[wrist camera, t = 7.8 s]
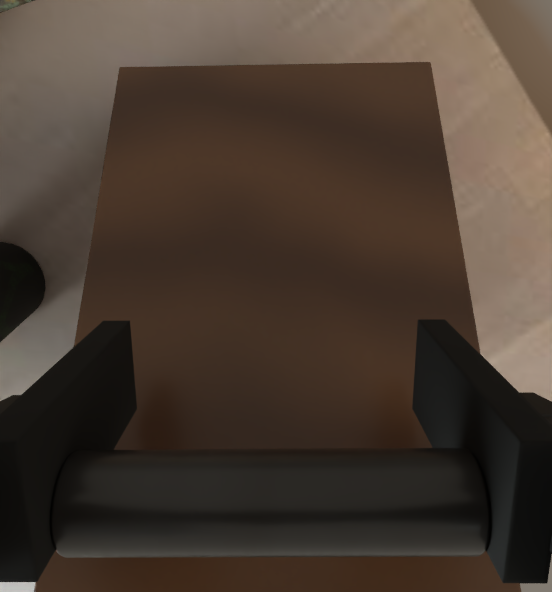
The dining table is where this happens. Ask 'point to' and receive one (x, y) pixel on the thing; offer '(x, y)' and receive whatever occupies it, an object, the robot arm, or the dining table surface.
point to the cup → (18, 287)
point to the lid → (274, 340)
